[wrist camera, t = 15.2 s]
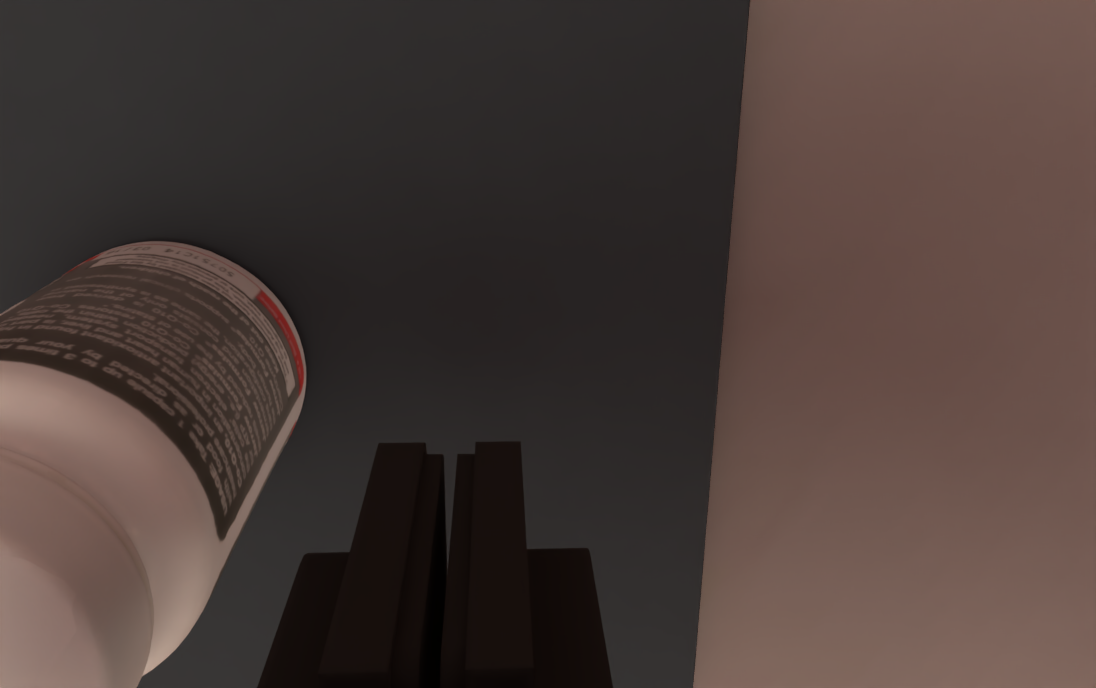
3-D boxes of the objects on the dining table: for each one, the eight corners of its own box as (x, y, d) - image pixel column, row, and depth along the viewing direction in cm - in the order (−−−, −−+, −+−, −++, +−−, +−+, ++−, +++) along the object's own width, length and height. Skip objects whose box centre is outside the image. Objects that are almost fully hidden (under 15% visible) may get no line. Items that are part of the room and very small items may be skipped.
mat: (753, -110, 15) (759, -113, 14) (689, 686, 20) (692, 699, 20) (-542, -133, 14) (-570, -137, 14) (-240, 704, 20) (-254, 718, 19)
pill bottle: (53, 209, 16) (-396, 413, 8) (328, 268, 16) (162, 512, 8) (40, 451, 17) (-346, 820, 10) (291, 497, 18) (122, 882, 10)
